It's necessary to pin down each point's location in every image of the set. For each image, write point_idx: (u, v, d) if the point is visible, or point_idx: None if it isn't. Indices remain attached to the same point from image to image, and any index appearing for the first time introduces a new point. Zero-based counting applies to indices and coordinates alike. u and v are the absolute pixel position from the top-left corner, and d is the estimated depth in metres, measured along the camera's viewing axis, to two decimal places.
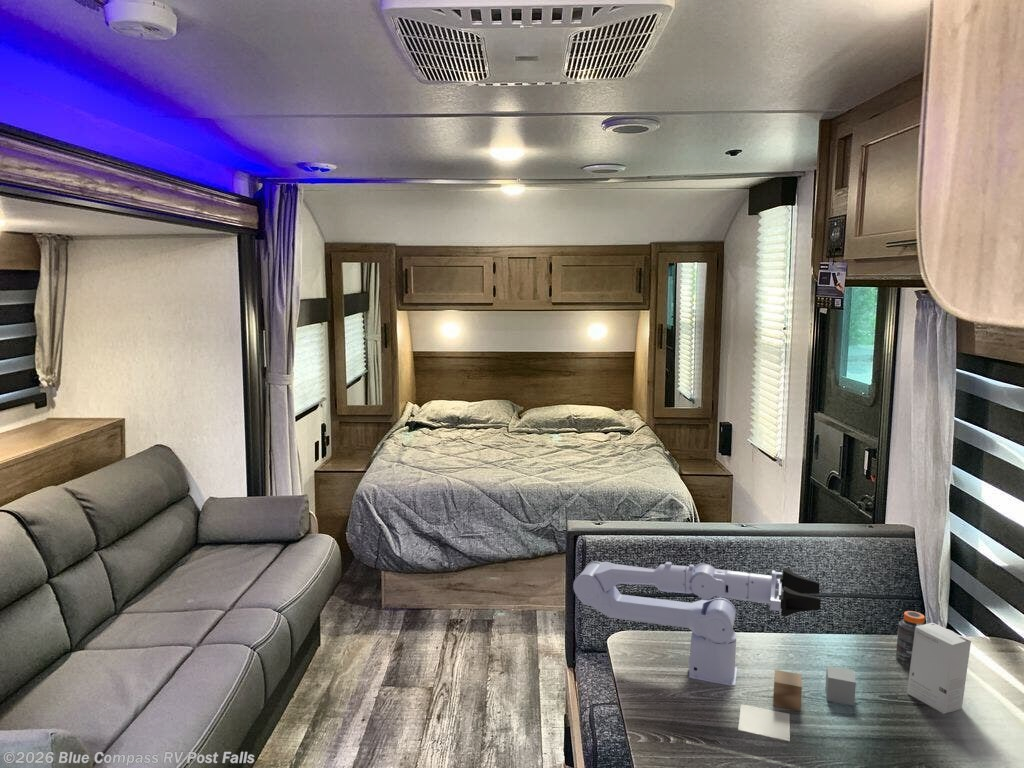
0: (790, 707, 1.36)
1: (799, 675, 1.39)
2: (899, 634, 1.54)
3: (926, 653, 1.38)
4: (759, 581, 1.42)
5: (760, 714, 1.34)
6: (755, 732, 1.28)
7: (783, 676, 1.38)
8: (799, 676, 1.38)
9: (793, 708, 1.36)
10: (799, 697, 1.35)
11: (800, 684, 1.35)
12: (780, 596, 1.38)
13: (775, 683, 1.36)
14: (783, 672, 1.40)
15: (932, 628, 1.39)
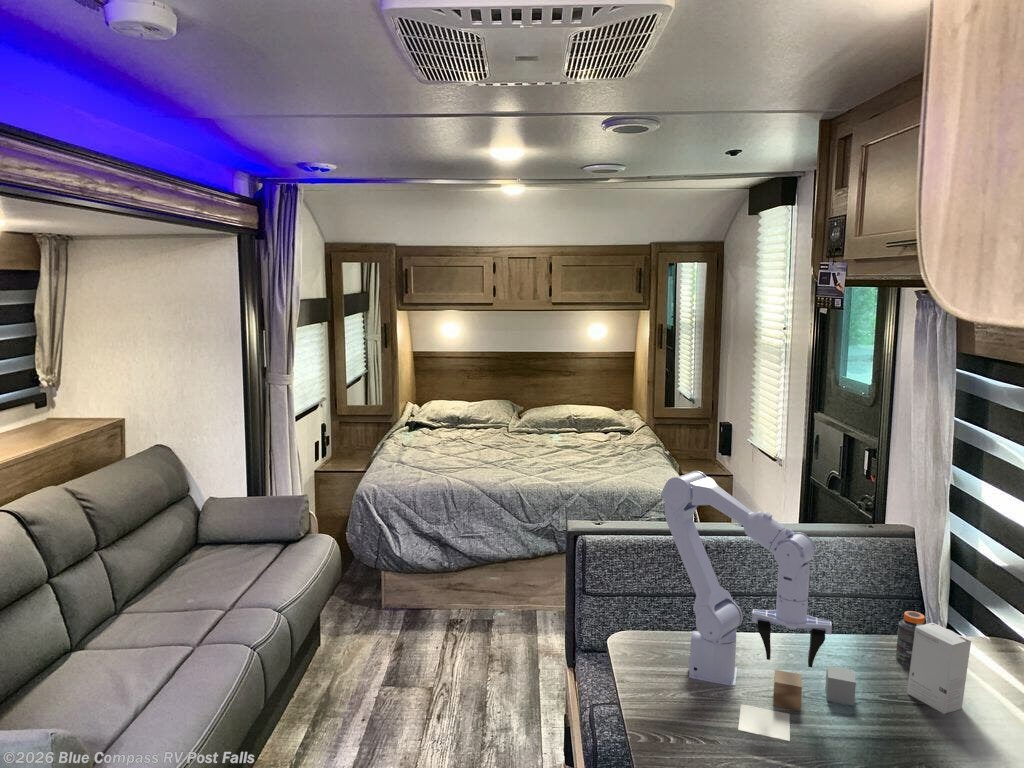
0: (790, 707, 1.36)
1: (799, 675, 1.39)
2: (899, 634, 1.54)
3: (926, 653, 1.38)
4: (782, 608, 1.35)
5: (760, 714, 1.34)
6: (755, 732, 1.28)
7: (783, 676, 1.38)
8: (799, 676, 1.38)
9: (793, 708, 1.36)
10: (799, 697, 1.35)
11: (800, 684, 1.35)
12: (766, 623, 1.37)
13: (775, 683, 1.36)
14: (783, 672, 1.40)
15: (932, 628, 1.39)
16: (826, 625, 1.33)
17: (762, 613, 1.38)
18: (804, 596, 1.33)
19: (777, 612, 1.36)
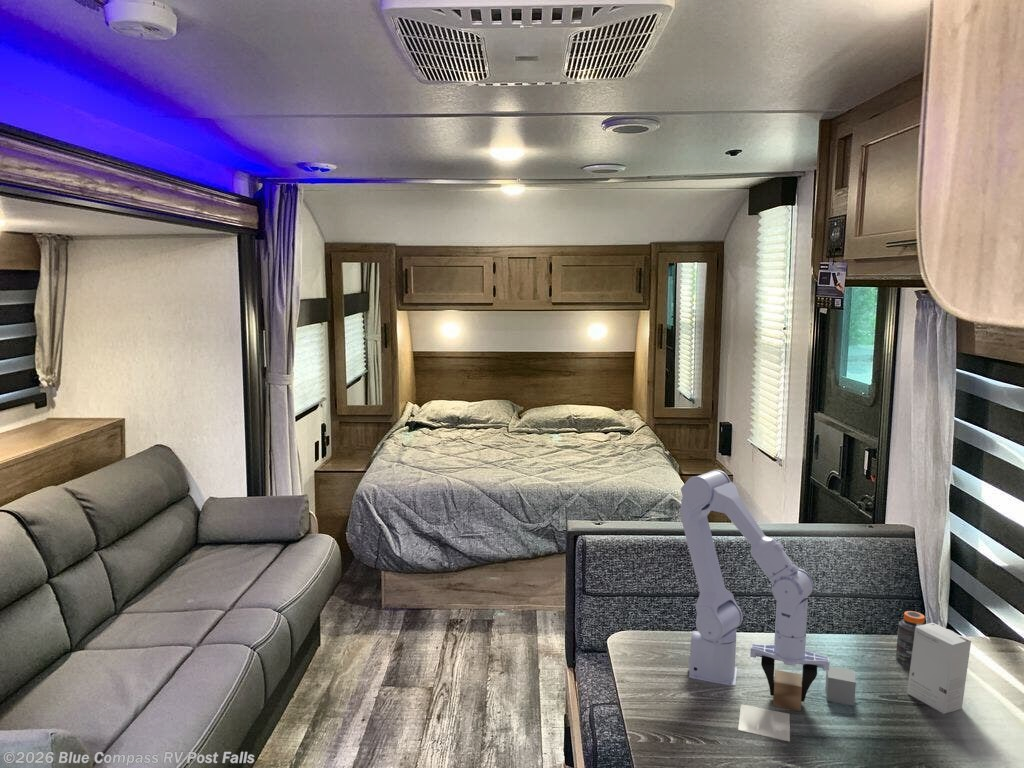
0: (790, 707, 1.36)
1: (799, 675, 1.39)
2: (899, 634, 1.54)
3: (926, 653, 1.38)
4: (780, 644, 1.35)
5: (760, 714, 1.34)
6: (755, 732, 1.28)
7: (783, 676, 1.38)
8: (799, 676, 1.38)
9: (793, 708, 1.36)
10: (799, 697, 1.35)
11: (800, 684, 1.35)
12: (764, 658, 1.38)
13: (775, 683, 1.36)
14: (783, 672, 1.40)
15: (932, 628, 1.39)
16: (824, 661, 1.34)
17: (760, 648, 1.39)
18: (802, 632, 1.34)
19: (775, 648, 1.37)
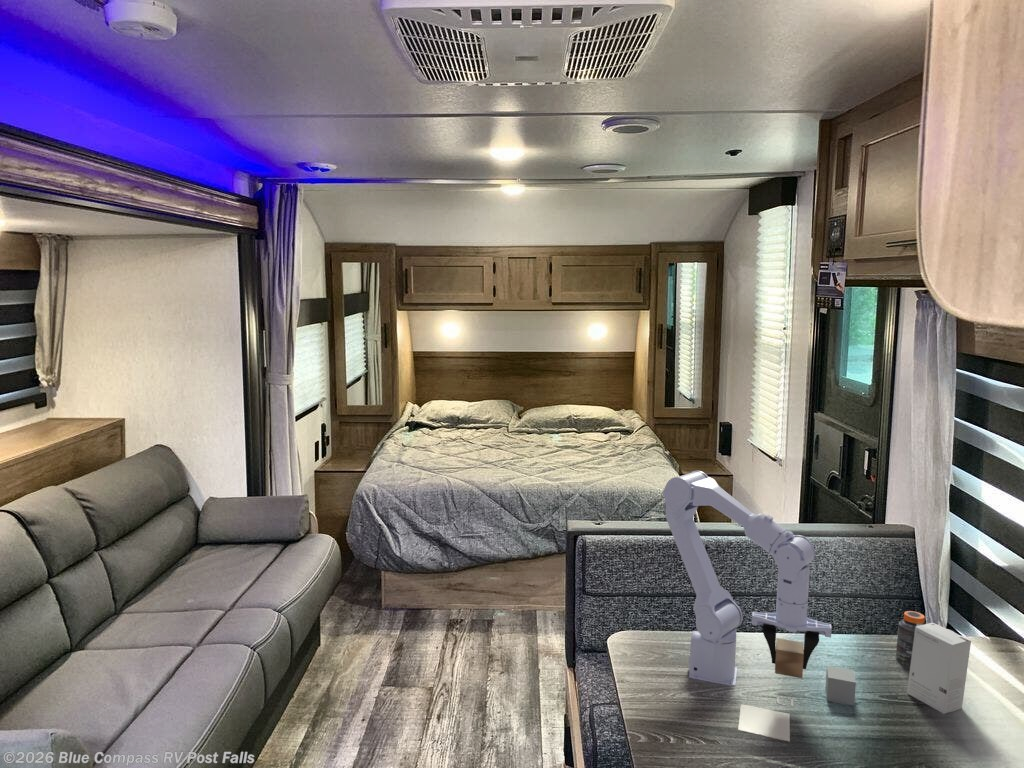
0: (792, 674, 1.35)
1: (801, 643, 1.38)
2: (899, 634, 1.54)
3: (926, 653, 1.38)
4: (782, 611, 1.35)
5: (760, 714, 1.34)
6: (755, 732, 1.28)
7: (785, 644, 1.38)
8: (801, 644, 1.38)
9: (795, 675, 1.35)
10: (801, 664, 1.34)
11: (801, 652, 1.35)
12: (766, 626, 1.38)
13: (777, 650, 1.36)
14: (785, 640, 1.39)
15: (932, 628, 1.39)
16: (826, 628, 1.33)
17: (762, 616, 1.38)
18: (804, 599, 1.33)
19: (777, 615, 1.36)
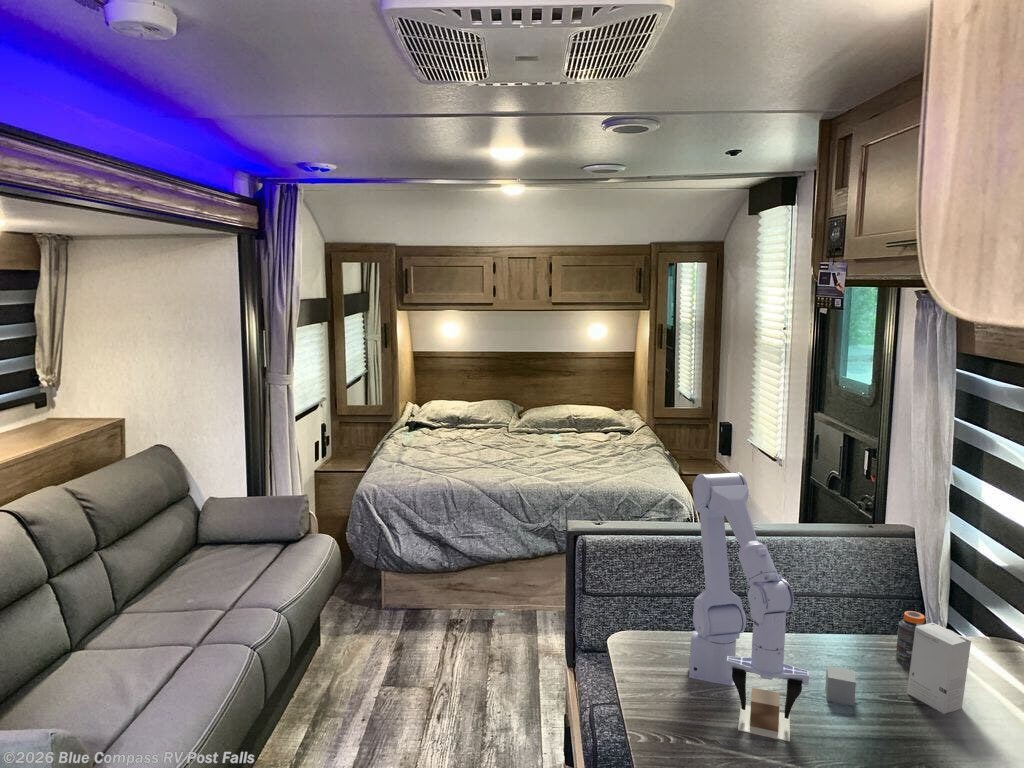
0: (767, 728, 1.29)
1: (777, 693, 1.32)
2: (899, 634, 1.54)
3: (926, 653, 1.38)
4: (757, 657, 1.28)
5: None
6: (755, 732, 1.28)
7: (760, 695, 1.32)
8: (777, 694, 1.32)
9: (770, 729, 1.29)
10: (777, 717, 1.28)
11: (777, 704, 1.29)
12: (741, 671, 1.31)
13: (752, 702, 1.29)
14: (760, 690, 1.33)
15: (932, 628, 1.39)
16: (803, 675, 1.27)
17: (737, 661, 1.32)
18: (772, 645, 1.27)
19: (752, 660, 1.30)
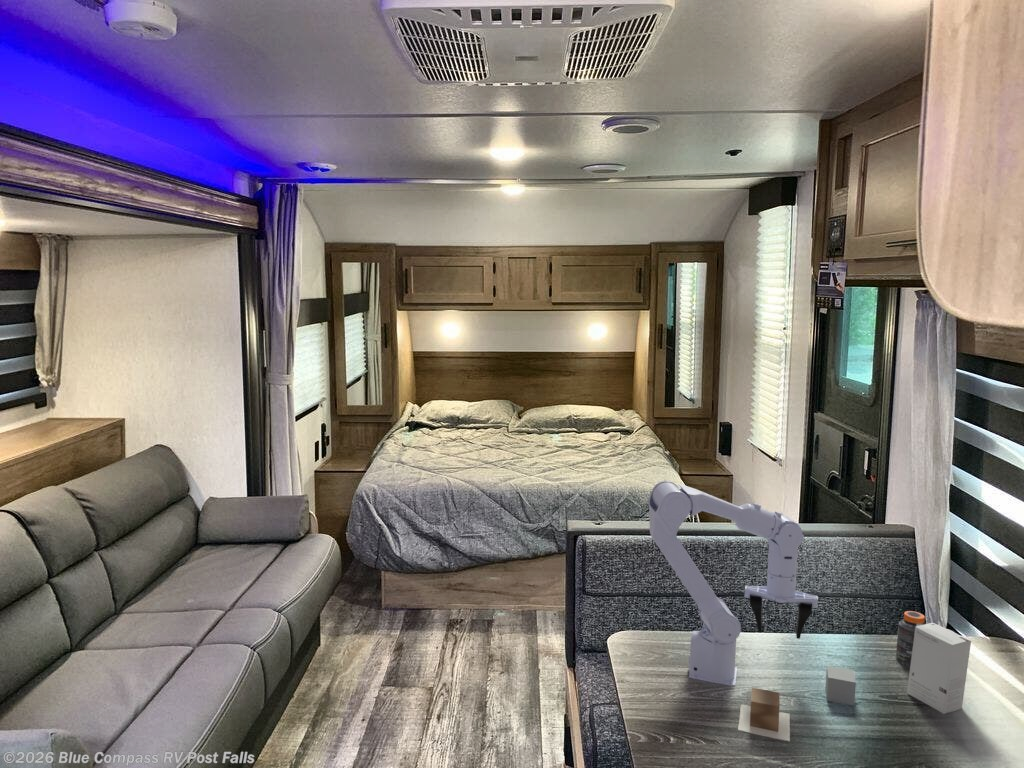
0: (767, 728, 1.29)
1: (777, 693, 1.32)
2: (899, 634, 1.54)
3: (926, 653, 1.38)
4: (772, 584, 1.45)
5: None
6: (755, 732, 1.28)
7: (760, 695, 1.32)
8: (777, 694, 1.32)
9: (770, 729, 1.29)
10: (777, 717, 1.28)
11: (777, 704, 1.29)
12: (757, 598, 1.48)
13: (752, 702, 1.29)
14: (760, 690, 1.33)
15: (932, 628, 1.39)
16: (813, 599, 1.44)
17: (754, 589, 1.49)
18: None
19: (768, 588, 1.47)
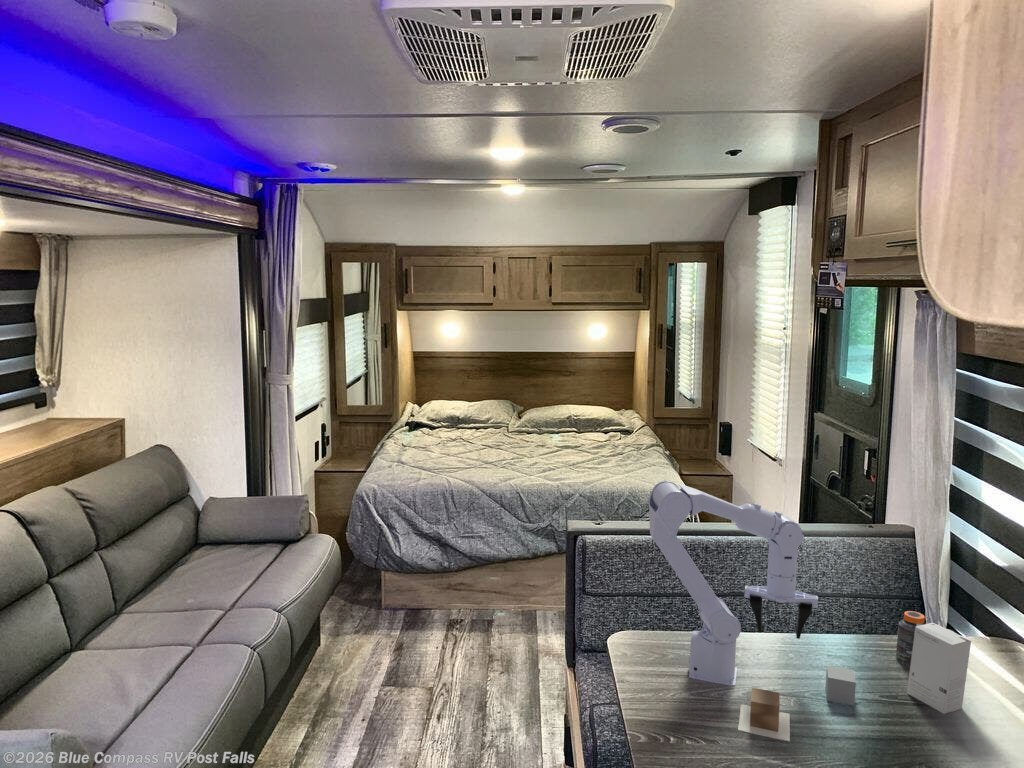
0: (767, 728, 1.29)
1: (777, 693, 1.32)
2: (899, 634, 1.54)
3: (926, 653, 1.38)
4: (772, 584, 1.45)
5: None
6: (755, 732, 1.28)
7: (760, 695, 1.32)
8: (777, 694, 1.32)
9: (770, 729, 1.29)
10: (777, 717, 1.28)
11: (777, 704, 1.29)
12: (757, 598, 1.48)
13: (752, 702, 1.29)
14: (760, 690, 1.33)
15: (932, 628, 1.39)
16: (813, 599, 1.44)
17: (754, 589, 1.49)
18: (796, 569, 1.46)
19: (768, 588, 1.47)
